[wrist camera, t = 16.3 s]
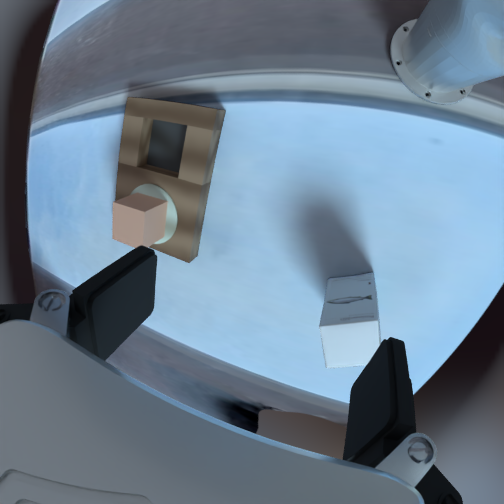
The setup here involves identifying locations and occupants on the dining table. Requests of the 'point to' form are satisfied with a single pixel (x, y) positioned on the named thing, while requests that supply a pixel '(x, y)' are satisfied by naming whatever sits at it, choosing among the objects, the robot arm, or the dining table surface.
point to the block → (139, 220)
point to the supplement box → (350, 321)
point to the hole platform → (170, 165)
